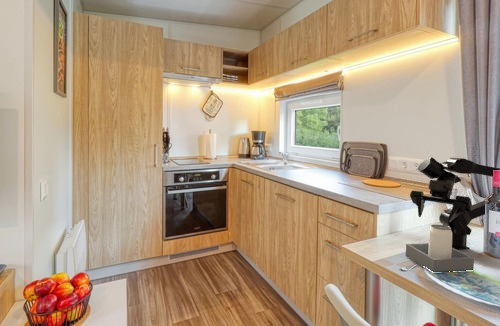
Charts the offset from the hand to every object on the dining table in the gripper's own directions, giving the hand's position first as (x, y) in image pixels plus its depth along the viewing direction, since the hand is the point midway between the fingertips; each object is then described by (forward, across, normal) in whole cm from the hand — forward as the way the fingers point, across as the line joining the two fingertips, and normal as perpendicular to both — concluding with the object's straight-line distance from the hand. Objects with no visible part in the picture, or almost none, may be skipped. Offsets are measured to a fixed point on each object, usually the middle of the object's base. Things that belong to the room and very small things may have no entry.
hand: (433, 219), depth 100 cm
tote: (+14, +3, +5) cm, 15 cm away
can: (+13, +4, +5) cm, 15 cm away
